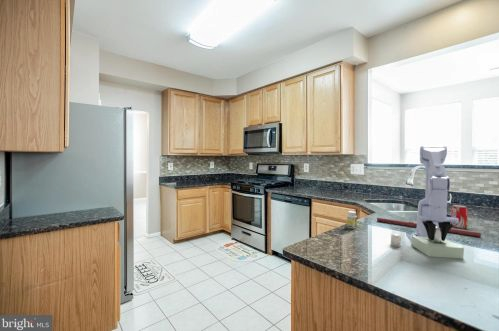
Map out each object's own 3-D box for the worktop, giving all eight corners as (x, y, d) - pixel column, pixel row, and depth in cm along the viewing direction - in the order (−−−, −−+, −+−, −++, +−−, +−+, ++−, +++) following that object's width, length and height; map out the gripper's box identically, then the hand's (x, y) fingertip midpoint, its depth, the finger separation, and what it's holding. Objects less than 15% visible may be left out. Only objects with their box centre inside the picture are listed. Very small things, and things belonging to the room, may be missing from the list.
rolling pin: (376, 222, 143) (376, 217, 143) (377, 221, 145) (377, 216, 145) (481, 238, 116) (481, 232, 116) (479, 237, 119) (480, 230, 118)
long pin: (427, 245, 99) (428, 225, 99) (436, 245, 99) (437, 226, 99) (434, 248, 96) (435, 228, 96) (443, 248, 96) (444, 228, 96)
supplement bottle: (354, 226, 133) (354, 210, 132) (358, 228, 128) (358, 212, 128) (345, 226, 132) (345, 210, 132) (349, 228, 128) (349, 212, 127)
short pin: (389, 243, 106) (389, 233, 106) (398, 243, 106) (398, 233, 105) (393, 246, 102) (393, 235, 102) (402, 246, 102) (402, 236, 102)
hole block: (411, 245, 104) (412, 236, 104) (441, 247, 103) (442, 237, 103) (428, 256, 92) (429, 246, 92) (463, 258, 91) (463, 248, 91)
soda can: (466, 229, 130) (467, 207, 129) (449, 226, 135) (450, 205, 135) (468, 227, 134) (469, 206, 134) (451, 224, 140) (452, 204, 139)
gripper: (424, 207, 94) (422, 242, 94) (465, 209, 92) (463, 244, 92) (414, 204, 101) (412, 236, 101) (452, 205, 99) (450, 238, 99)
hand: (436, 239), depth 97 cm, fingers closed on long pin, 4 cm apart
